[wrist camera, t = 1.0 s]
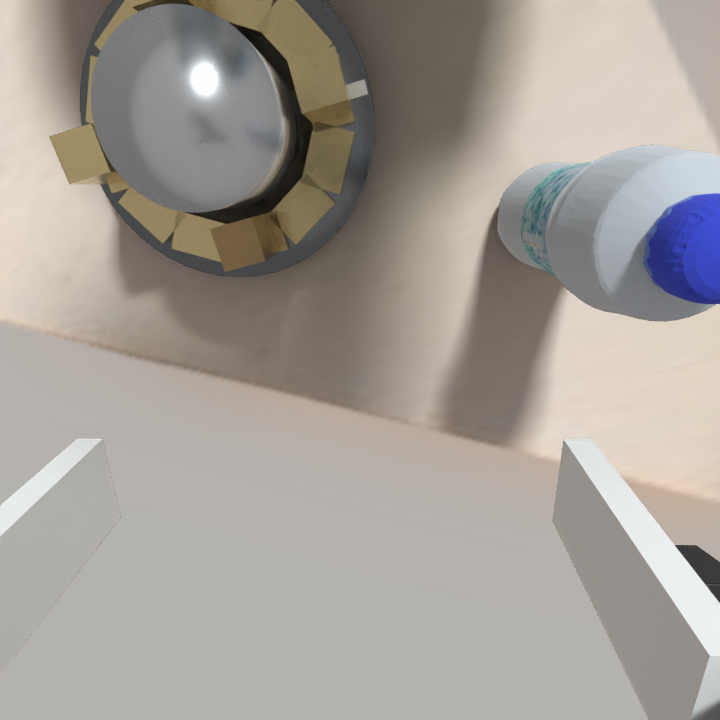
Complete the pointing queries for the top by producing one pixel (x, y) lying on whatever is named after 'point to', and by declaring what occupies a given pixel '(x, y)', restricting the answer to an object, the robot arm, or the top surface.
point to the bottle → (623, 229)
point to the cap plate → (216, 122)
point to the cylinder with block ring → (317, 103)
